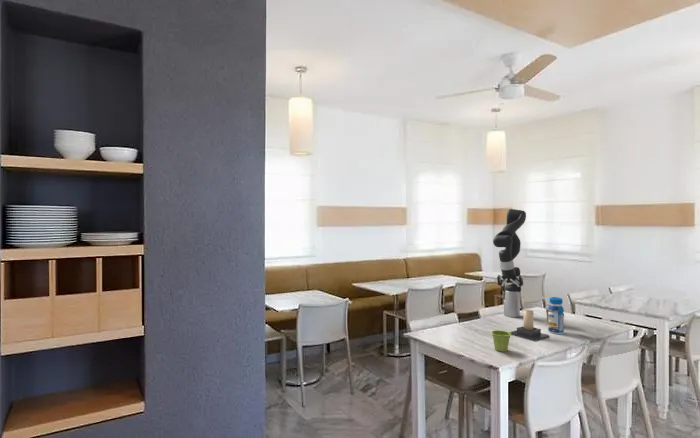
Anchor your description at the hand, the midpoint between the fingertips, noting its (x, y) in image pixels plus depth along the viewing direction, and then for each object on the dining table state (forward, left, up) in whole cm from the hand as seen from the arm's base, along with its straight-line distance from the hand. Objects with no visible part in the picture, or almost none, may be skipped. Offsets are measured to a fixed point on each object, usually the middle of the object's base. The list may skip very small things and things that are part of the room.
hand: (511, 291), depth 243 cm
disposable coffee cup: (+10, +28, -23) cm, 37 cm away
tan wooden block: (+14, -5, -22) cm, 26 cm away
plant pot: (+21, -38, -23) cm, 49 cm away
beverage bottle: (+19, +15, -23) cm, 33 cm away
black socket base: (+14, -4, -23) cm, 27 cm away
